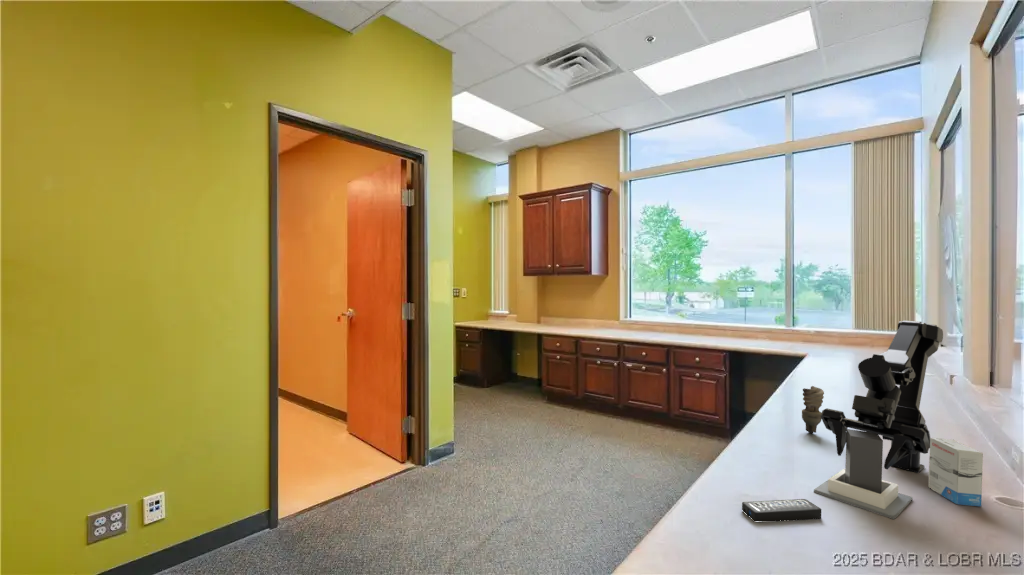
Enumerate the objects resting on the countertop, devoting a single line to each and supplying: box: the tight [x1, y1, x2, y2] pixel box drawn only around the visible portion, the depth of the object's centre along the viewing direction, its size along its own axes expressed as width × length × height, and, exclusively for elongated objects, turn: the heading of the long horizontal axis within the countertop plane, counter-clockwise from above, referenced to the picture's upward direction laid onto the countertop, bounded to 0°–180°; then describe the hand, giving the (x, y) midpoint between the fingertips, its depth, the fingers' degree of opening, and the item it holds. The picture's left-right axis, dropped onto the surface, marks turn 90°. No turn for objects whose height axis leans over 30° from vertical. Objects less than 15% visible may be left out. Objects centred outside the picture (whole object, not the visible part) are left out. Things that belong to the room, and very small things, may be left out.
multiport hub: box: [741, 498, 823, 522], centre depth 89 cm, size 4×14×2 cm, turn 98°
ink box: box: [928, 437, 984, 507], centre depth 99 cm, size 8×5×12 cm, turn 168°
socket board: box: [813, 468, 913, 520], centre depth 98 cm, size 14×14×3 cm
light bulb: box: [801, 385, 825, 434], centre depth 139 cm, size 6×6×15 cm
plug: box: [844, 428, 884, 494], centre depth 98 cm, size 6×6×13 cm
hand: (861, 461), depth 98 cm, fingers open, 8 cm apart
